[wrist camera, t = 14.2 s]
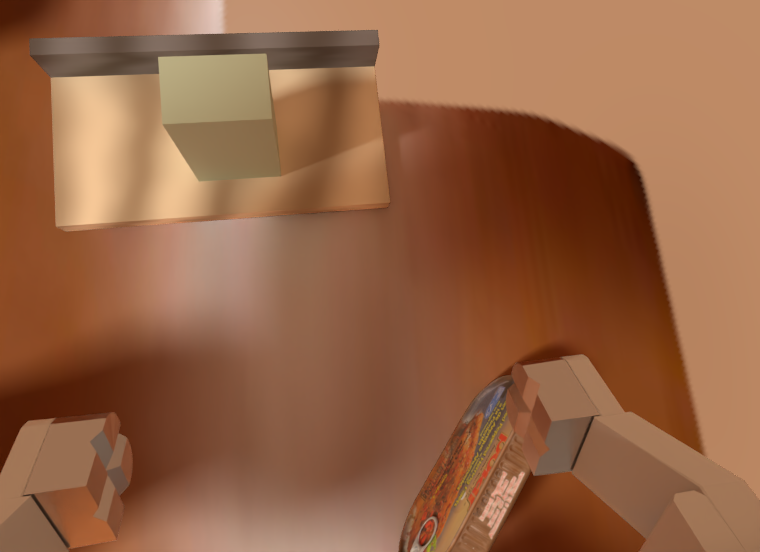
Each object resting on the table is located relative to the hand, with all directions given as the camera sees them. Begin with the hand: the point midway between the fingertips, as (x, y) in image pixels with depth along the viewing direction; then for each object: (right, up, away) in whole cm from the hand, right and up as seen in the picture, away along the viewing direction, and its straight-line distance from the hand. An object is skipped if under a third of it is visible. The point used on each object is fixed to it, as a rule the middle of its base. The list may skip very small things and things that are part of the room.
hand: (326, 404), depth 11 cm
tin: (+7, -12, +29) cm, 32 cm away
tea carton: (-9, +12, +29) cm, 33 cm away
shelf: (-11, +13, +30) cm, 35 cm away
